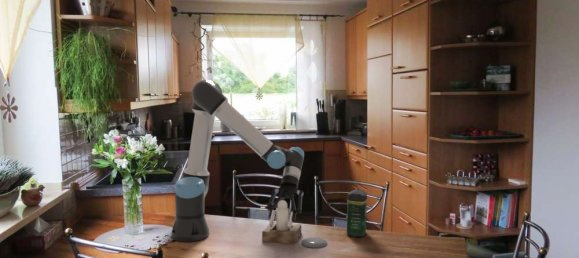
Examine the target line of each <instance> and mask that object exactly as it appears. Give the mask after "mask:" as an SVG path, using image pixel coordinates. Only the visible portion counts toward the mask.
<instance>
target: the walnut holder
mask: <svg viewBox="0 0 579 258" xmlns="http://www.w3.org/2000/svg"><path fill="white" fill-rule="evenodd" d="M261 233H262V234H261V241H262V242H266V243H267V242H269V243H276V244H277V243H278V244H287V245H294V244H295V243H296V242H297V240H298V239H299V237H300V236H301V235H302V224H301V223H294V222H292V227H291V229H289V228H288V231H278V230H276V221H274V222H273V226H272V227H270V225H269V224H268V225H267V226H266V227H265V228H264V229H263V230H262V232H261Z"/></svg>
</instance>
